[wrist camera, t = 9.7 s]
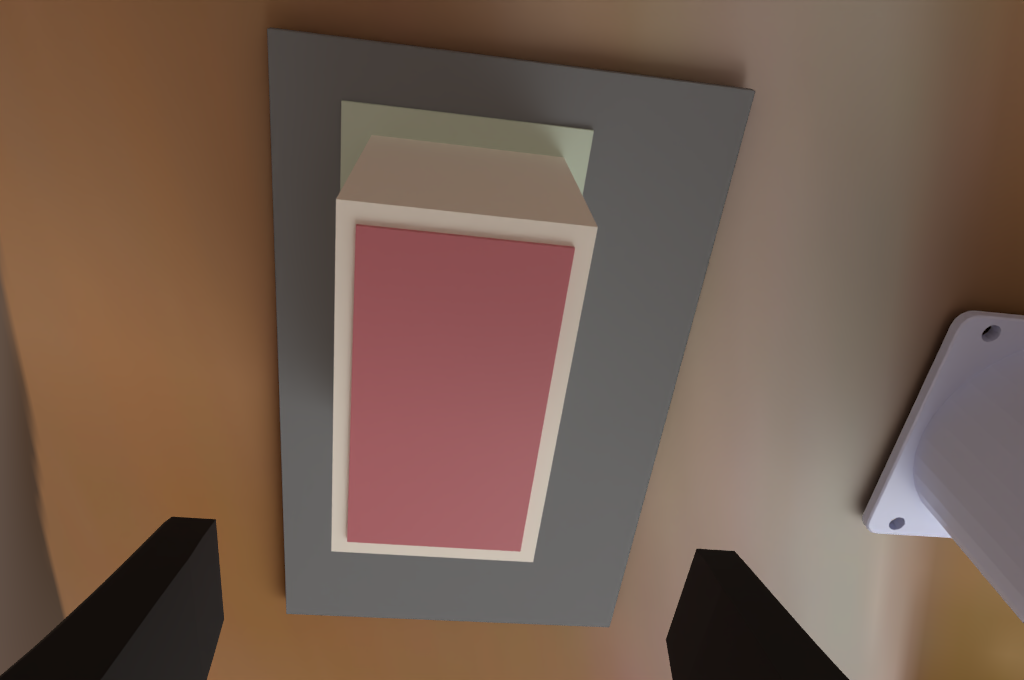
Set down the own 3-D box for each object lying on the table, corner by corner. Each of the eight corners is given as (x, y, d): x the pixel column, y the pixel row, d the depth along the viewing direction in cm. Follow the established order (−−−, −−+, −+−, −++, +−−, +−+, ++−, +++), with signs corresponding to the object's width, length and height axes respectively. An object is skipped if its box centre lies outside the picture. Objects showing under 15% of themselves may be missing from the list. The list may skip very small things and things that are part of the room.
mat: (750, 88, 17) (756, 91, 16) (607, 620, 25) (609, 629, 25) (270, 27, 15) (265, 28, 15) (288, 606, 24) (285, 616, 23)
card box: (518, 432, 20) (533, 565, 16) (361, 421, 20) (330, 554, 15) (563, 157, 17) (598, 229, 12) (371, 134, 16) (335, 201, 12)
